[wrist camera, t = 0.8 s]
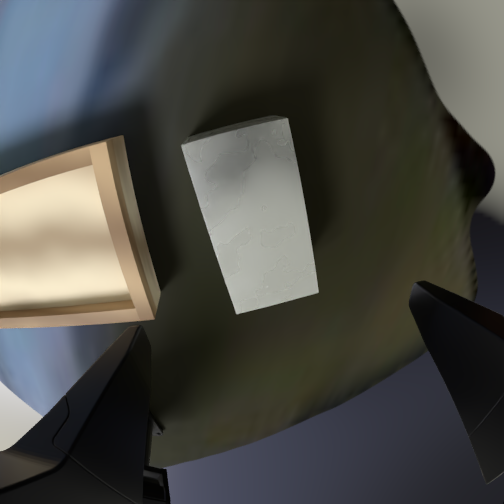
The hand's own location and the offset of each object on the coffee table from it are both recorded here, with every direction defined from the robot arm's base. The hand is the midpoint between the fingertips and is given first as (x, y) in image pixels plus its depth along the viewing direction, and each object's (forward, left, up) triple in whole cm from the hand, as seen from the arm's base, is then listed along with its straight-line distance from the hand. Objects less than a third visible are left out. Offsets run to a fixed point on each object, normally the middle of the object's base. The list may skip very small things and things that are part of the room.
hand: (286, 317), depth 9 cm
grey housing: (0, 0, -11) cm, 11 cm away
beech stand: (0, +15, -11) cm, 18 cm away
